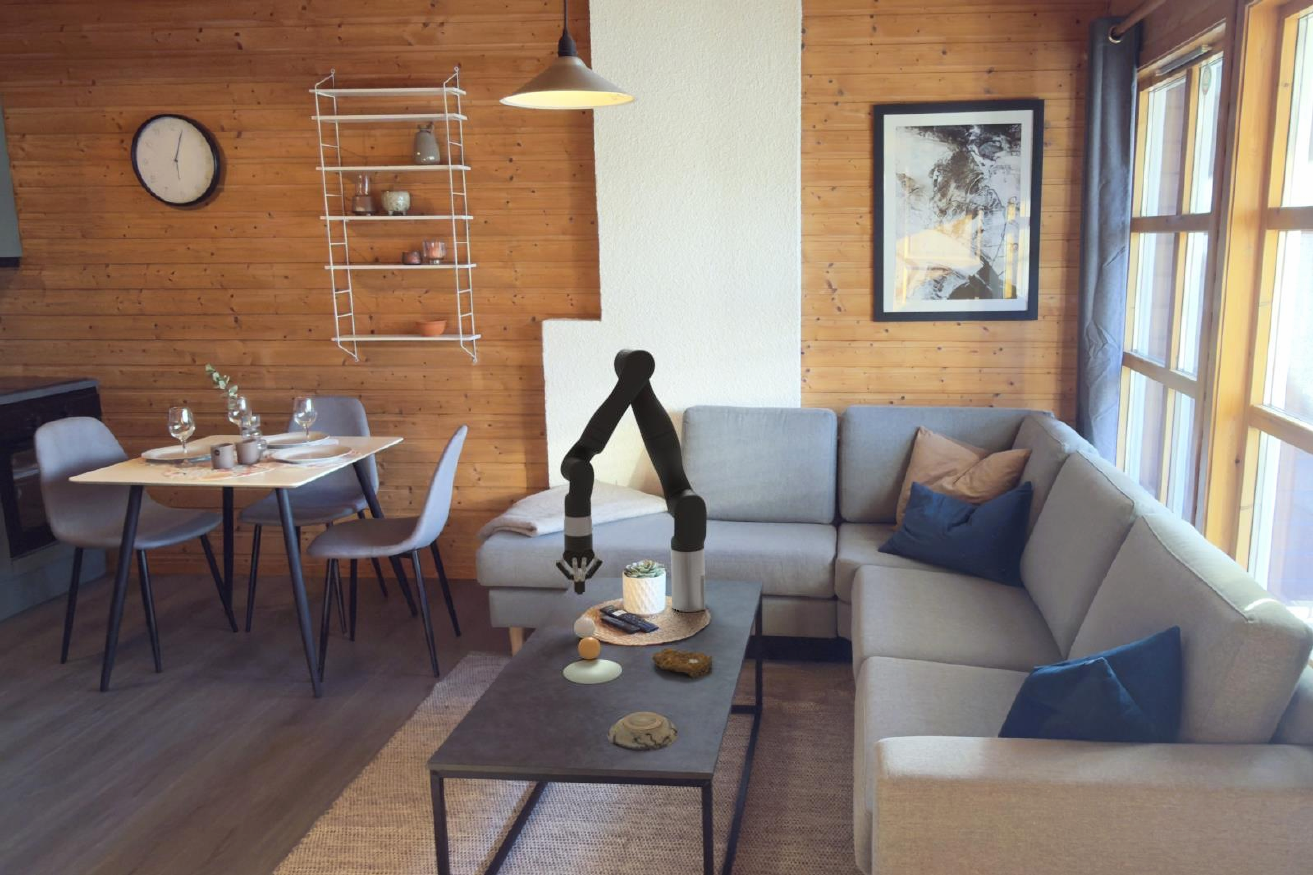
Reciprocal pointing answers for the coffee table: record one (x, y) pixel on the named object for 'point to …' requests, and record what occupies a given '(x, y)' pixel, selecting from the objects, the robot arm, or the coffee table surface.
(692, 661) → the decorative rock
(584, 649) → the object ball
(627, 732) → the decorative bowl
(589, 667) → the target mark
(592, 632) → the cue ball
